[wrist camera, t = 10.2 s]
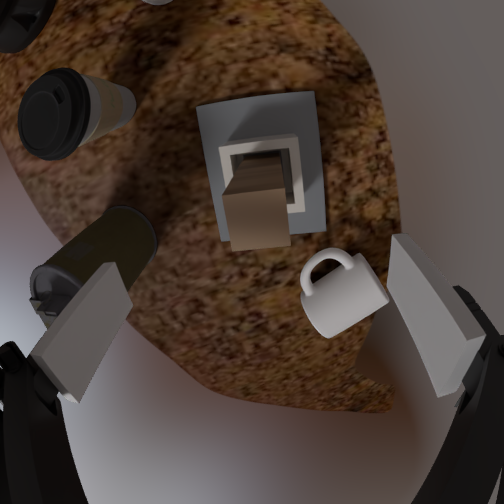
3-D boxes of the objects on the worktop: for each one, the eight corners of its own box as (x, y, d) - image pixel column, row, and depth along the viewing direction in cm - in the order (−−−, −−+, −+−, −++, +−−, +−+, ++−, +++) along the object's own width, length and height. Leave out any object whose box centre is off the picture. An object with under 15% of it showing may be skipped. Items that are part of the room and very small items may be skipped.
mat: (197, 106, 31) (195, 106, 30) (313, 91, 29) (313, 90, 29) (222, 238, 39) (221, 241, 39) (325, 228, 38) (326, 230, 37)
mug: (379, 279, 41) (395, 311, 34) (327, 312, 44) (334, 348, 37) (338, 221, 37) (353, 249, 30) (281, 263, 41) (282, 296, 34)
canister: (148, 200, 37) (62, 279, 20) (164, 265, 42) (107, 365, 24) (88, 210, 39) (1, 280, 21) (108, 268, 43) (42, 352, 26)
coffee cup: (160, 88, 30) (93, 81, 17) (130, 151, 34) (60, 180, 21) (106, 65, 28) (30, 58, 15) (81, 126, 32) (5, 145, 19)
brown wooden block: (244, 156, 32) (221, 195, 18) (279, 152, 32) (284, 188, 17) (249, 189, 34) (232, 251, 20) (283, 185, 33) (290, 245, 19)
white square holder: (226, 141, 32) (218, 147, 27) (293, 133, 31) (297, 137, 26) (237, 203, 36) (231, 219, 31) (300, 196, 35) (305, 211, 30)
